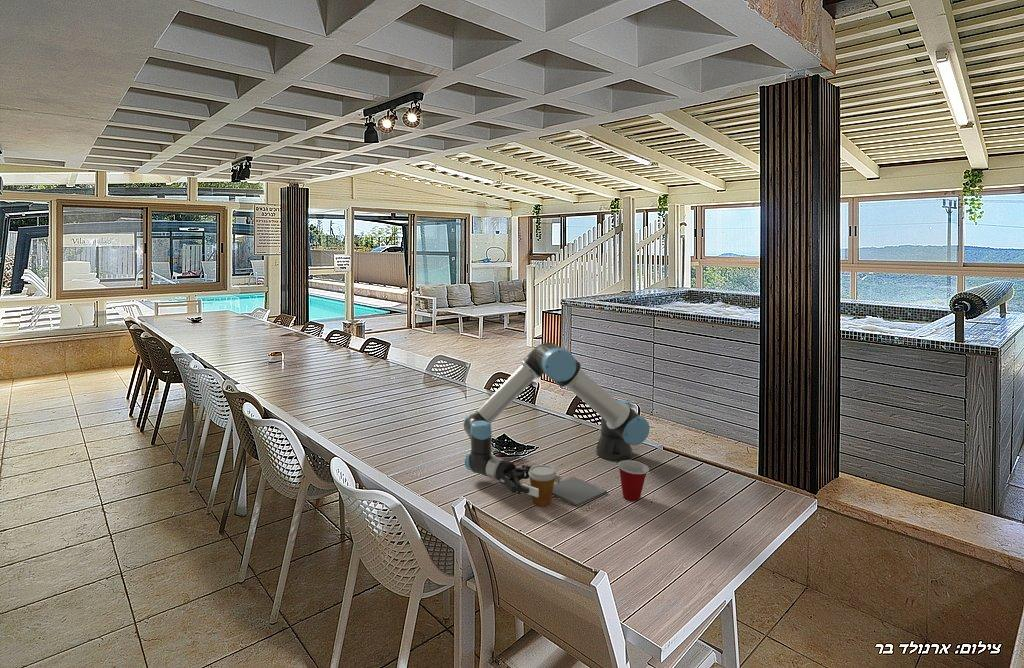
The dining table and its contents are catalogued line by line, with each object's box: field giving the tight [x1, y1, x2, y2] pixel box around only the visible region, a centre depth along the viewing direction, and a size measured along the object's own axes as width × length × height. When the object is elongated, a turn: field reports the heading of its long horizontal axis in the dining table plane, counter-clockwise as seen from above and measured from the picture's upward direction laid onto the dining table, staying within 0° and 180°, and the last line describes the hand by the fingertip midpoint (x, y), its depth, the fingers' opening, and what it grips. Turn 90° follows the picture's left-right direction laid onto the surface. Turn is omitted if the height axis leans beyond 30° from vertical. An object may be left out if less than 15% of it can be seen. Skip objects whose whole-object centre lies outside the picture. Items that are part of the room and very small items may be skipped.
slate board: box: [552, 476, 608, 507], centre depth 205 cm, size 16×16×1 cm
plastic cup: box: [617, 459, 650, 502], centre depth 200 cm, size 11×11×12 cm
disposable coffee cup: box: [528, 464, 557, 508], centre depth 195 cm, size 10×10×12 cm
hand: (549, 486), depth 193 cm, fingers open, 13 cm apart
